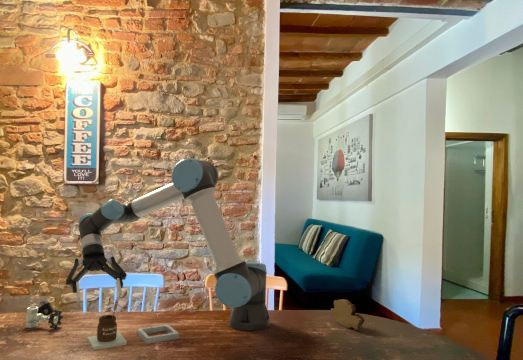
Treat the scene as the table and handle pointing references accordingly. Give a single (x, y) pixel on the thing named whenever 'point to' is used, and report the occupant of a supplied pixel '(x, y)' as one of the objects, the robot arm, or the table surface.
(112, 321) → the utensil holder
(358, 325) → the wooden carving
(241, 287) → the robot arm
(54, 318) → the valve
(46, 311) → the lighter
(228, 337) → the table surface
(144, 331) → the grey square frame
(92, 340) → the green tile
